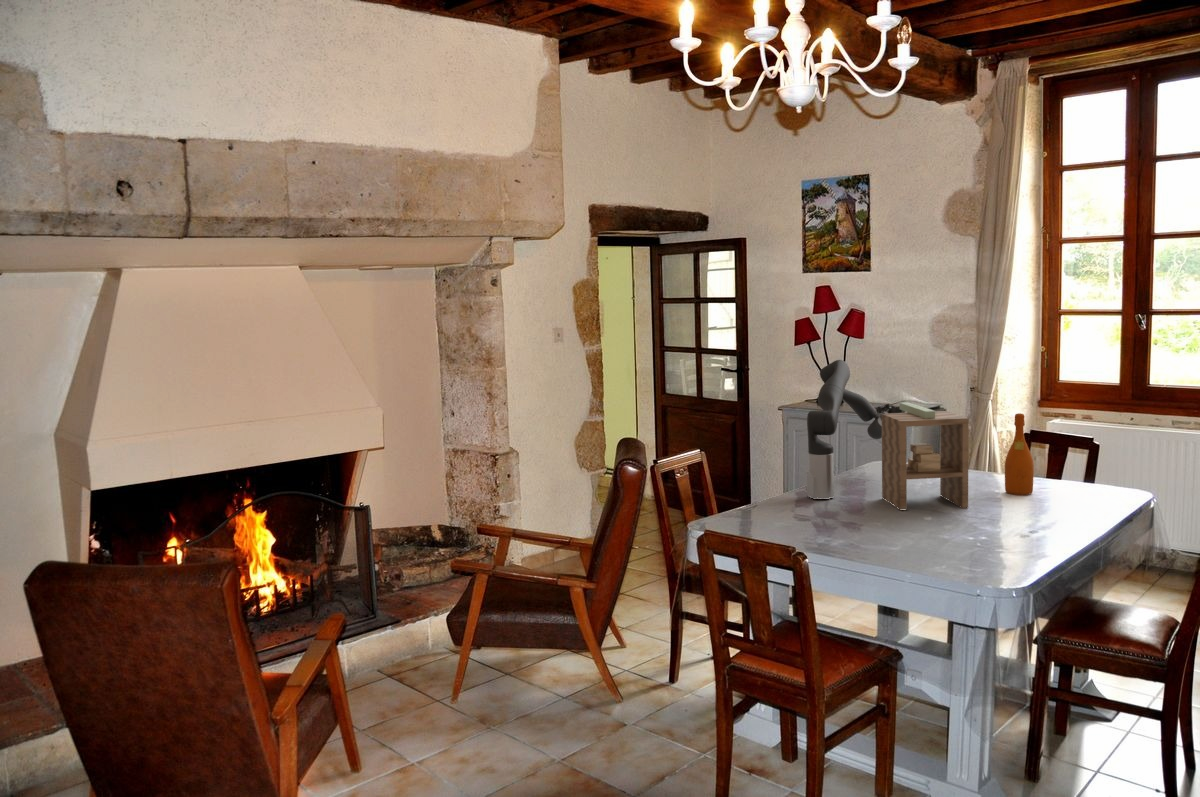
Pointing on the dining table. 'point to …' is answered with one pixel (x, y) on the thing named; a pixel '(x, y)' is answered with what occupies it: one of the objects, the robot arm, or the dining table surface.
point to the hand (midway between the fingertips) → (899, 405)
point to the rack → (925, 457)
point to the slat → (917, 410)
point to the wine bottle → (1019, 463)
